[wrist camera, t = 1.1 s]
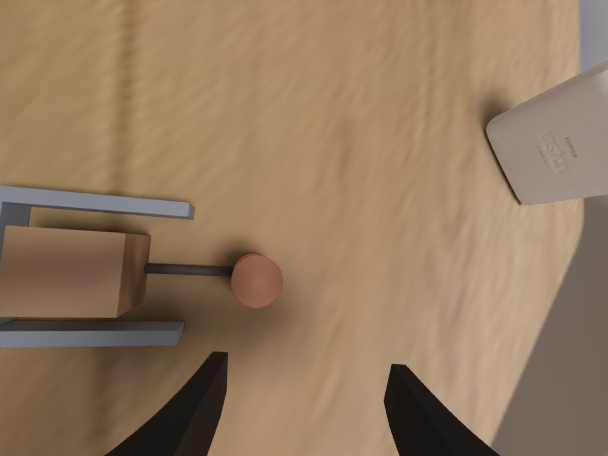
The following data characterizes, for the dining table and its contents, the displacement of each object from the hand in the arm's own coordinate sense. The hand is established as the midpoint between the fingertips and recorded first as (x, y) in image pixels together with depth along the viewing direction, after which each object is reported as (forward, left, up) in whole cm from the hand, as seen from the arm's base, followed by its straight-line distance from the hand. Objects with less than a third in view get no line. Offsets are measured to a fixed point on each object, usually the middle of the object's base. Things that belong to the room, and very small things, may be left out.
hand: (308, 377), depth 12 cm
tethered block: (+3, +8, -12) cm, 15 cm away
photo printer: (+16, -24, -12) cm, 32 cm away
